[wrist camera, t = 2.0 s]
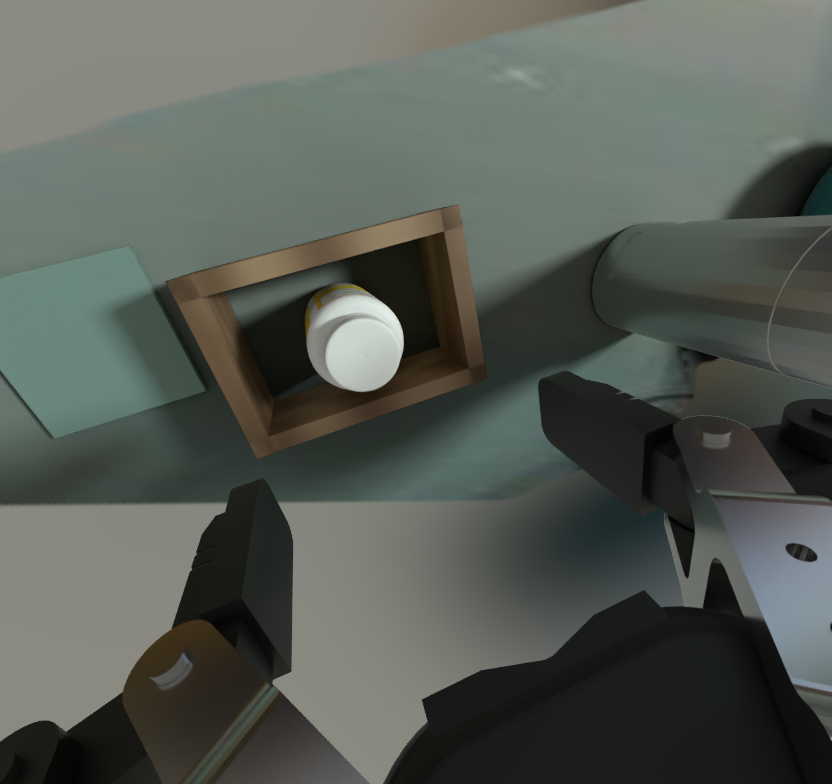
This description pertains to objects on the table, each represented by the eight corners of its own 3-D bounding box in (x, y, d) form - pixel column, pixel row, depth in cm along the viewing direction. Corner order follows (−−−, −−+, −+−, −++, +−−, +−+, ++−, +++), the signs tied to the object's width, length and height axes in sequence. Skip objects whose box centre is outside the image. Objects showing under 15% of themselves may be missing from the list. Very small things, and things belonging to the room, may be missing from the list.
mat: (131, 246, 23) (127, 246, 22) (207, 388, 27) (205, 391, 27) (-54, 291, 21) (-61, 292, 21) (58, 435, 26) (54, 438, 25)
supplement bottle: (348, 368, 30) (370, 425, 21) (288, 324, 27) (283, 366, 18) (393, 314, 29) (436, 348, 20) (336, 264, 27) (356, 277, 17)
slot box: (427, 211, 27) (459, 204, 22) (455, 355, 32) (487, 378, 26) (194, 271, 24) (165, 281, 19) (265, 418, 29) (257, 458, 24)
